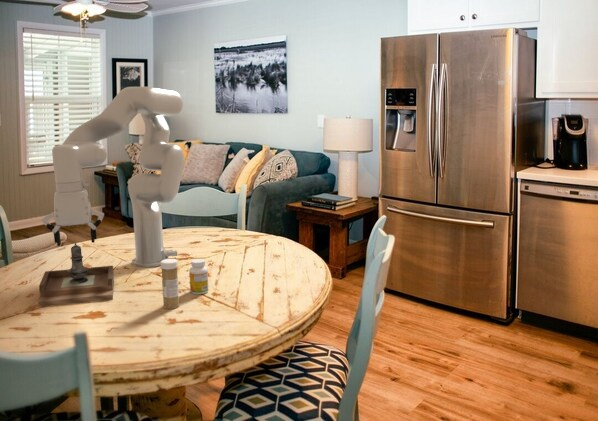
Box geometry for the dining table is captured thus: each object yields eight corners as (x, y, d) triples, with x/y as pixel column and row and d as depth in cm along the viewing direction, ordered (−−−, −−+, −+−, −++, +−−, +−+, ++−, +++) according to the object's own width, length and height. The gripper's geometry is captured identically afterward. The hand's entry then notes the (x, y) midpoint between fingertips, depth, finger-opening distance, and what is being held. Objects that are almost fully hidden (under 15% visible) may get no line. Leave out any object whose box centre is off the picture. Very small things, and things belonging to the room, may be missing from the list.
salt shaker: (82, 284, 176) (78, 245, 174) (64, 283, 177) (60, 244, 175) (92, 278, 182) (89, 240, 179) (75, 277, 183) (72, 239, 180)
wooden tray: (114, 280, 190) (112, 265, 189) (112, 299, 173) (111, 283, 172) (46, 286, 184) (45, 271, 183) (38, 306, 167) (37, 290, 166)
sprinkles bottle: (163, 304, 169) (160, 258, 166) (179, 303, 169) (177, 257, 167) (162, 310, 164) (160, 263, 161) (179, 308, 165) (177, 262, 162)
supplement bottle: (191, 289, 181) (189, 258, 179) (209, 288, 181) (207, 257, 179) (189, 295, 176) (188, 263, 174) (207, 294, 176) (206, 263, 174)
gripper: (101, 182, 179) (106, 237, 183) (39, 187, 175) (46, 242, 179) (100, 187, 172) (106, 243, 176) (36, 191, 168) (43, 249, 172)
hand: (76, 243), depth 177 cm, fingers open, 9 cm apart
